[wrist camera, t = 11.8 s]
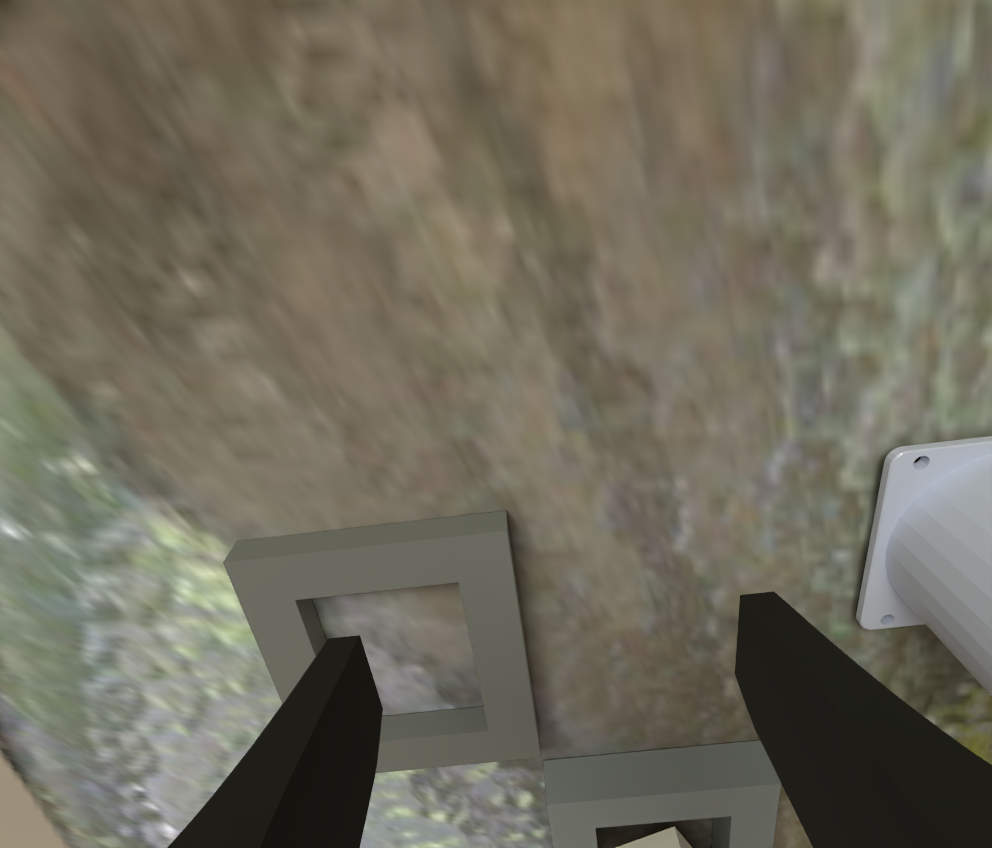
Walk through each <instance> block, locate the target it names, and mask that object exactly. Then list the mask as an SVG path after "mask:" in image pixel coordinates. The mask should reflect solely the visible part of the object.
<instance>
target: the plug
mask: <svg viewBox="0 0 992 848" xmlns="http://www.w3.org/2000/svg"><path fill="white" fill-rule="evenodd" d="M616 848H692V847H691V846H690V844H689V843H688V842H687V841H686V840H685V838H684V837H683V836H682V835H681V834H680V832H679V831H678V830H677V829H676V828H675V826H674V827H671V828H669V829H666V830H663V831H660V832H657V833H655V834H652V835H649V836H646V837H644V838H641V839H638V840H635V841H632V842H630V843H627V844H624V845H621V846H619V847H616Z"/></svg>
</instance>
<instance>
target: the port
mask: <svg viewBox="0 0 992 848" xmlns="http://www.w3.org/2000/svg"><path fill="white" fill-rule="evenodd" d="M543 766H544V778H545V789H546V801H547V809H548V816H549V822H550V829H551V836H552V842H553V848H597V838H596V828H603V827H614V826H626V825H637V824H648V823H660V822H671V821H682V820H694V819H705V818H713V831H712V848H773V843H774V835H775V827H776V820H777V812H778V805H779V797H780V789H781V782H780V780H779V778H778V775H777V773H776V771H775V769H774V767H773V765H772V763H771V761H770V759H769V757H768V755H767V753H766V751H765V749H764V747H763V745H762V743H761V741H760V740H757V741H747V742H736V743H725V744H715V745H704V746H694V747H683V748H672V749H662V750H651V751H640V752H630V753H619V754H608V755H598V756H587V757H576V758H566V759H555V760H545V761H543Z"/></svg>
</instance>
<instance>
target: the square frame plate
mask: <svg viewBox="0 0 992 848" xmlns="http://www.w3.org/2000/svg"><path fill="white" fill-rule="evenodd" d="M223 563H224V566H225V568H226V571H227V573H228V575H229V578H230V580H231V582H232V585H233V587H234V590H235V592H236V594H237V597H238V599H239V601H240V604H241V606H242V609H243V611H244V613H245V616H246V618H247V620H248V623H249V625H250V628H251V630H252V632H253V635H254V637H255V640H256V642H257V644H258V647H259V649H260V651H261V654H262V656H263V659H264V661H265V663H266V666H267V668H268V670H269V673H270V675H271V678H272V680H273V682H274V685H275V687H276V689H277V692H278V694H279V697H280V699H281V701H282V704H283V703H284V701H285V700H286V699H287V697H288V696H289V694H290V693H291V691H292V690H293V689H294V687H295V686H296V684H297V683H298V681H299V680H300V679H301V677H302V676H303V674H304V673H305V671H306V670H307V668H308V667H309V665H310V664H311V663H312V661H313V660H314V658H315V657H316V655H317V654H318V652H319V651H320V650H321V648H322V647H323V645H324V644H325V643H326V638H325V635H324V632H323V630H322V627H321V624H320V621H319V618H318V615H317V612H316V610H315V607H314V604H313V601H312V598H320V597H329V596H338V595H347V594H356V593H365V592H374V591H384V590H393V589H402V588H411V587H420V586H429V585H438V584H448V583H457V582H458V583H459V587H460V592H461V597H462V602H463V607H464V612H465V617H466V622H467V627H468V632H469V637H470V642H471V647H472V652H473V656H474V661H475V666H476V671H477V676H478V681H479V686H480V691H481V696H482V701H483V707H473V708H463V709H453V710H442V711H432V712H422V713H412V714H402V715H392V716H382V722H381V733H380V743H379V752H378V761H377V768H376V773H381V772H392V771H402V770H413V769H423V768H434V767H445V766H455V765H466V764H476V763H487V762H498V761H508V760H519V759H530V758H540V757H541V752H540V740H539V730H538V723H537V716H536V710H535V703H534V696H533V689H532V682H531V676H530V669H529V662H528V655H527V648H526V642H525V635H524V628H523V621H522V614H521V608H520V601H519V594H518V587H517V580H516V574H515V567H514V560H513V553H512V546H511V540H510V533H509V526H508V519H507V512H506V511H498V512H490V513H481V514H472V515H463V516H455V517H446V518H437V519H429V520H420V521H411V522H402V523H394V524H385V525H376V526H368V527H359V528H350V529H341V530H333V531H324V532H315V533H307V534H298V535H289V536H280V537H272V538H263V539H254V540H246V541H237V542H236V543H235V545H234V547H233V548H232V550H231V551H230V553H229V554H228V556H227V557H226V559H225V561H224V562H223Z"/></svg>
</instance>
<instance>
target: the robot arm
mask: <svg viewBox="0 0 992 848" xmlns="http://www.w3.org/2000/svg"><path fill="white" fill-rule="evenodd" d="M921 456H922V457H921ZM918 457H921V459H920V460H919V461H918V462H916V463H914V461H915V460H916V459H917V458H918ZM856 620H857V621H858V622H859V623H860V625H861V626H862V627H863V628H865V629H868V630H875V629H884V628H894V627H904V626H914V625H924V624H926V625H927V626H928V627H929V628H930V629H931V631H932V632H933V633H934V634H935V635H936V636H937V637H938V638H939V639H940V640H941V642H942V643H943V644H944V645H945V646H946V647H947V648H948V649H949V650H950V651H951V653H952V654H953V655H954V656H955V657H956V658H957V659H958V660H959V661H960V662H961V663H962V665H963V666H964V667H965V668H966V669H967V670H968V671H969V672H970V673H971V674H972V676H973V677H974V678H975V679H976V680H977V681H978V682H979V683H980V684H981V685H982V687H983V688H984V689H985V690H986V691H987V692H988V693H989V694H990V695H991V696H992V436H988V437H980V438H971V439H962V440H954V441H945V442H937V443H928V444H919V445H911V446H902V447H898V448H895V449H894V450H892V451H891V452H890V453H889V454H888V455H887V456H886V459H885V461H884V466H883V472H882V477H881V482H880V488H879V493H878V499H877V504H876V510H875V515H874V521H873V526H872V531H871V537H870V542H869V548H868V553H867V559H866V564H865V570H864V575H863V580H862V586H861V591H860V597H859V602H858V608H857V613H856ZM735 675H736V678H737V681H738V684H739V687H740V689H741V692H742V695H743V698H744V701H745V704H746V706H747V709H748V712H749V714H750V717H751V720H752V722H753V725H754V728H755V730H756V732H757V734H758V736H759V738H760V741H761V743H762V745H763V747H764V749H765V751H766V753H767V755H768V757H769V759H770V761H771V763H772V765H773V767H774V769H775V771H776V773H777V775H778V777H779V779H780V781H781V783H782V785H783V788H784V790H785V792H786V794H787V796H788V798H789V800H790V802H791V804H792V806H793V808H794V810H795V812H796V814H797V816H798V818H799V820H800V822H801V824H802V826H803V828H804V830H805V832H806V834H807V836H808V838H809V840H810V842H811V844H812V846H813V848H992V765H991V764H989V763H988V762H986V761H985V760H983V759H982V758H980V757H979V756H977V755H976V754H974V753H973V752H971V751H970V750H969V749H967V748H966V747H964V746H963V745H961V744H960V743H959V742H957V741H956V740H954V739H953V738H952V737H950V736H949V735H948V734H946V733H945V732H943V731H942V730H941V729H940V728H938V727H937V726H936V725H934V724H933V723H932V722H930V721H929V720H928V719H926V718H925V717H924V716H922V715H921V714H920V713H918V712H917V711H916V710H914V709H913V708H912V707H910V706H909V705H908V704H907V703H905V702H904V701H903V700H901V699H900V698H899V697H898V696H896V695H895V694H894V693H893V692H891V691H890V690H889V689H888V688H886V687H885V686H884V685H883V684H881V683H880V682H879V681H878V680H877V679H875V678H874V677H873V676H872V675H870V674H869V673H868V672H867V671H866V670H864V669H863V668H862V667H861V666H859V665H858V664H857V663H856V662H855V661H853V660H852V659H851V658H850V657H849V656H847V655H846V654H845V653H844V652H843V651H841V650H840V649H839V648H838V647H837V646H836V645H835V644H833V643H832V642H831V641H830V640H829V639H828V638H826V637H825V636H824V635H823V634H822V633H821V632H819V631H818V630H817V629H816V628H815V627H814V626H813V625H811V624H810V623H809V622H808V621H807V620H806V619H805V618H804V617H802V616H801V615H800V614H799V613H798V612H797V611H796V610H794V609H793V608H792V607H791V606H790V605H789V604H788V603H787V602H785V601H784V600H783V599H782V598H781V597H780V596H778V595H777V594H776V593H775V592H766V593H756V594H747V595H740V606H739V621H738V636H737V651H736V665H735ZM382 711H383V708H382V705H381V702H380V698H379V695H378V692H377V689H376V686H375V682H374V679H373V676H372V673H371V670H370V666H369V663H368V660H367V657H366V654H365V651H364V647H363V644H362V641H361V638H360V635H359V636H350V637H340V638H331V639H328V640H327V641H326V643H325V644H324V645H323V647H322V648H321V650H320V651H319V652H318V654H317V655H316V657H315V658H314V660H313V661H312V663H311V664H310V665H309V667H308V668H307V670H306V671H305V673H304V674H303V676H302V677H301V679H300V680H299V681H298V683H297V684H296V686H295V687H294V689H293V690H292V691H291V693H290V694H289V696H288V697H287V699H286V700H285V701H284V703H283V704H282V706H281V707H280V708H279V710H278V711H277V713H276V714H275V715H274V717H273V718H272V719H271V721H270V722H269V723H268V725H267V726H266V728H265V729H264V730H263V732H262V733H261V734H260V736H259V737H258V739H257V740H256V741H255V743H254V744H253V745H252V747H251V748H250V749H249V750H248V752H247V753H246V754H245V756H244V757H243V758H242V759H241V761H240V762H239V763H238V764H237V766H236V767H235V768H234V769H233V771H232V772H231V773H230V775H229V776H228V777H227V778H226V780H225V781H224V782H223V783H222V785H221V786H220V787H219V788H218V790H217V791H216V792H215V793H214V795H213V796H212V797H211V798H210V799H209V801H208V802H207V803H206V804H205V805H204V807H203V808H202V809H201V810H200V811H199V813H198V814H197V815H196V816H195V817H194V818H193V820H192V821H191V822H190V823H189V824H188V825H187V826H186V828H185V829H184V830H183V831H182V832H181V833H180V834H179V835H178V837H177V838H176V839H175V840H174V841H173V842H172V843H171V844H170V845H169V847H168V848H360V843H361V839H362V834H363V829H364V825H365V820H366V815H367V811H368V806H369V801H370V797H371V792H372V787H373V782H374V778H375V773H376V768H377V761H378V752H379V743H380V733H381V722H382Z"/></svg>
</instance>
